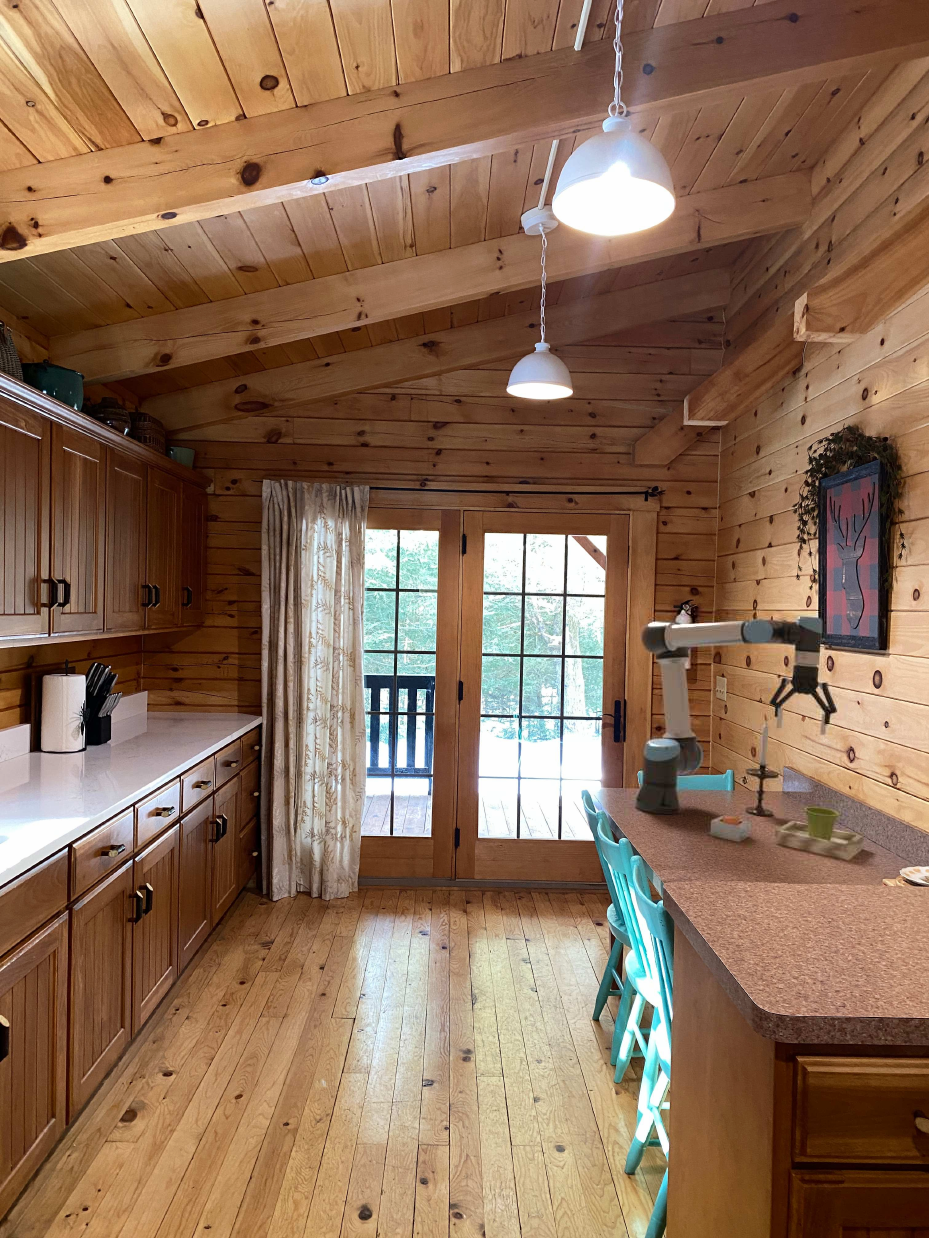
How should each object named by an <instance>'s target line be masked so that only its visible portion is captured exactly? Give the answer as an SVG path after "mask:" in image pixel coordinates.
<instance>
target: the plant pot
mask: <svg viewBox="0 0 929 1238" xmlns="http://www.w3.org/2000/svg"><path fill="white" fill-rule="evenodd" d="M804 811H805V815H806V818H807V824H808V836H810V837H815V838H820V839H824V840H829V841H830V839H831V835H832V831H833V829H834V827H835V823H836V820H837V817H838V816H839V812H837V811H835V810H833V809H830V808H824V807H816V806H809V807H807V806H806V807H805V808H804Z"/></svg>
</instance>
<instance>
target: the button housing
mask: <svg viewBox="0 0 929 1238" xmlns="http://www.w3.org/2000/svg"><path fill="white" fill-rule="evenodd" d="M723 816H724V815H722V816H719V817H717V818H715V819H712V820H711V822H710V832H709V833H710V834H709V835H710V836H712V837H717V838H721V839H725V840H728V841H729V840H730V841H734V842H737V843H740V842H741V841H744V840H746V839H748V838H749V837H750V834H751V833H750V832H751V821H749V820H748V821H747V820H743V819H740V822H739V825H734V824H730V823H725V822H722V820H723Z"/></svg>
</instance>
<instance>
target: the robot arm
mask: <svg viewBox="0 0 929 1238" xmlns="http://www.w3.org/2000/svg"><path fill="white" fill-rule="evenodd" d="M822 634H823V619H822V618H820V617H815V616H814V617H812V616H800V615H799V616H798V617H797V619H796V621H785V620H784V621H783V620H777V619H776V620H775V619H762V618H755V619H751V620H736V621H733V620H732V621H721V622H704V623H703V622H702V623H691V624H688V623H687V624H686V623H685V624H684V623H680V622H677V621H653V622H650V623H648V624H647V625H645V627H644V628H643V630H642V632H641V643H642V646H643V647H644V649H645V650H647V652H650V653H651V654H654V655H655V662H656V663H658V664H659V665H660V674H661V686H662V696H663V707H664V710H663V711H664V720H665V722H664V723H665V733H664V734H663V735H662V738H655V739H654V738H653V739H650V740H648V741H646V743H645V745H644V750H643V763H642V764H643V767H642V780H641V781H642V782H641V786H640V788H639V791H638V794H637V795H636V798H635V804H634V806H635V808H636V809H638V810H640V811H644V812H647V813H651V814H656V815H657V814H659V815H678V814H680V813H681V809H682V808H681V800H680V797H679V793H678V776H682V775H690V774H692V773H693V772H696V771H697V770H698V769H699V768H700V767H701V766H702V763H703V760H704V752H703V748H702V746H700V744H699V743H698V742H697V736H696V734H695V733H694V732H693V731H692V728H691V716H690V715H691V714H690V704H689V703H690V702H689V693H688V692H689V691H688V682H687V681H688V680H687V670H686V668H687V667H686V663H687V661H688V660H689V659H690V652H689V651H690V650H691V648H694V647H709V646H710V647H711V646H712V647H713V646H732V645H733V646H734V645H753V644H754V645H755V644H757V645H758V644H770V645H771V644H774V645H775V644H776V645H790V646H794V656H793V663H794V665H793V666H792V677H791V678H788V677H783V678H781V681H780V682H781V683H780V685H779V687H778V688H777V690H776V691H775V692H774V694H773V696H772V698H771V699H770V700H769V705H770V706H773V707H774V718H777V719H776V729H782V725H783V724H782V723H783V714H784V707H782V706H783V705H784V704H785V703H786V702H787V701H788V700H789V699H791V697H793V696H794V695H795V694H800V695H801V694H802V695H807V696H808V695H811V697H812V698H813V699H814V700H815V701H816V703H817V704H818V706H819V707H820V708H821V710H822V711H823V713H822V714H821V723H820V735H821V736H824V735H826V730H827V728H826V727H827V725H829V724H830V723H831V721H830V720H831V715H832V714H835V713H837V712H838V708H837V707H836V704H835V702H834V700H833V699H834V698H833V697H832V695H831V693H830V689H829V683H828V682H827V681H826V682H819V680H818V679H819V665H820V656H821V644H822V638H823V637H822V636H823V635H822ZM790 684H791V689H790V690H789V691H788V692H786V694H785V695H784V696H782V694H783V692H784V691H785V689H786V688H787V686H789V685H790ZM818 687H819V688H820V690H822V693H823V696H824V698H825V700H826V703H827V704H826V703H825V702H824V699H822V697H821V696H820V694H819V692H818V691H817V689H818ZM781 696H782V698H780V697H781ZM779 698H780V699H779ZM827 705H828V706H827Z"/></svg>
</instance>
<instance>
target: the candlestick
mask: <svg viewBox="0 0 929 1238" xmlns="http://www.w3.org/2000/svg"><path fill="white" fill-rule="evenodd" d="M764 720H765V721H764V722H765V723H764V725H762V733H761V735H762V736H761V747H760V760H759V762H758V763H756V764H757V765H759V766H758V767H759V768H745V774H746V775H748V776H752V777H756V778H757V779H758V780H759V781H758V784H759V785H758V789H756V794H757V797H756V800H757V805H756V806H754V807H753V806H750V807H748V806H747V807H746V808H745V810H744V811H745V813H746V814H749V815H751V816H752V815H753V816H758V817H765V818H766V817H768V818H769V817H773V816H774V815H773V814H774V811H772V810H770V809H767V808H764V806H763V801H764V800H765V798H763V796H764V795H765V792H766V791H765V790H764V780H766V779H777V778H779V775H780V774H779V773H778V772H777V771H774V770H769V769H766V767H767V766H770V765H769V764H767V750H768V739H769V729H770V728H769V727H770V726H768V717H767V714H766V713H764Z"/></svg>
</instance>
